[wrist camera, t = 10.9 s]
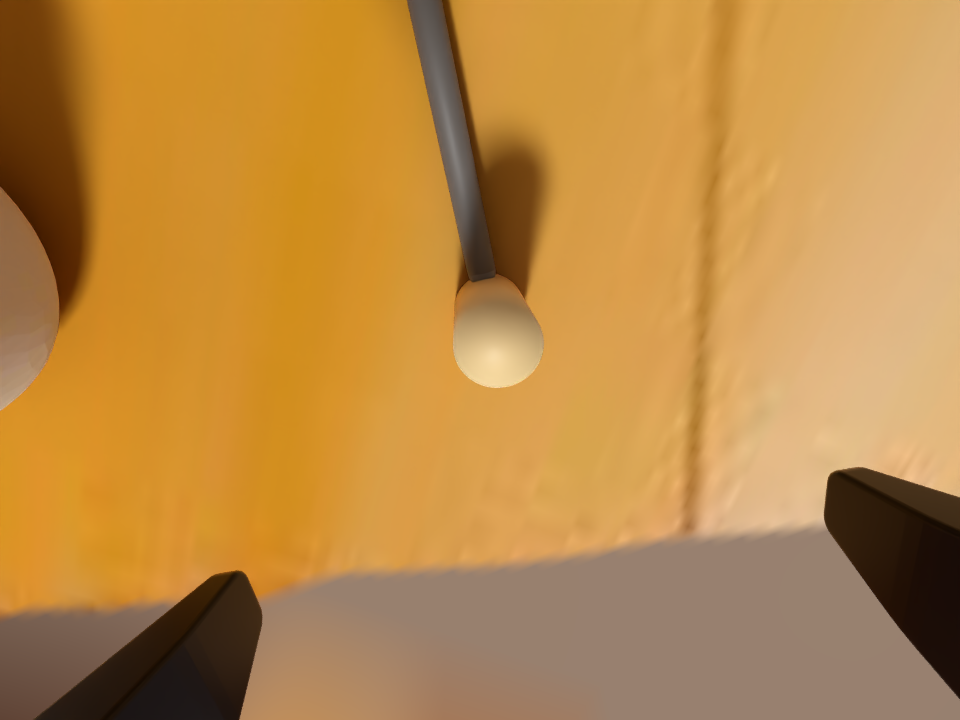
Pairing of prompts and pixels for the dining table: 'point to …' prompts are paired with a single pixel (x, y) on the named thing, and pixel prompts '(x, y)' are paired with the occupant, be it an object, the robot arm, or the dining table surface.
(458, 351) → the mallet
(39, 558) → the dining table surface
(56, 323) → the teacup
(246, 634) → the robot arm
